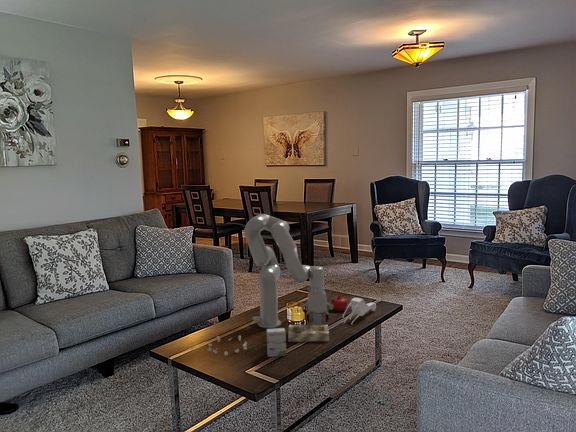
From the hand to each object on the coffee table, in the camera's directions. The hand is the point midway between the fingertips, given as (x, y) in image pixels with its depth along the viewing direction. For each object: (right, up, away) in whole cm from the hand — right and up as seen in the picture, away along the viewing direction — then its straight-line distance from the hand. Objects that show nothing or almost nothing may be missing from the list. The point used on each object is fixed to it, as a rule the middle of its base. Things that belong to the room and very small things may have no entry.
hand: (317, 321), depth 244 cm
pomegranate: (+15, 0, +29) cm, 32 cm away
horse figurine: (+25, -2, +14) cm, 29 cm away
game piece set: (-45, -8, -23) cm, 51 cm away
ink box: (-21, -8, -33) cm, 40 cm away
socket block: (-5, -5, -12) cm, 14 cm away
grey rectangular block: (0, -3, 0) cm, 3 cm away
